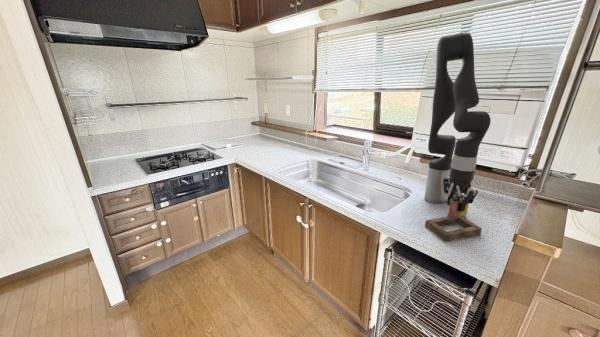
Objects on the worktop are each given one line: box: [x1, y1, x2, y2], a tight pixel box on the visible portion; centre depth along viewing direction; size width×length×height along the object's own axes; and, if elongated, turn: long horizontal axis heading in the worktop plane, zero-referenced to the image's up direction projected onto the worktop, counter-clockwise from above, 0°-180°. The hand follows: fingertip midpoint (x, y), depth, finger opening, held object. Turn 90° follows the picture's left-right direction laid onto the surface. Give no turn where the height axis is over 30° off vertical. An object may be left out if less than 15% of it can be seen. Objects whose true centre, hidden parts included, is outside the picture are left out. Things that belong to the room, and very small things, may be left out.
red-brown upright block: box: [446, 192, 460, 220], centre depth 94 cm, size 8×3×10 cm, turn 131°
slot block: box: [424, 216, 483, 243], centre depth 98 cm, size 16×11×3 cm
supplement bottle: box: [460, 193, 469, 218], centre depth 107 cm, size 6×6×10 cm
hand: (455, 207), depth 95 cm, fingers closed on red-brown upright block, 4 cm apart
